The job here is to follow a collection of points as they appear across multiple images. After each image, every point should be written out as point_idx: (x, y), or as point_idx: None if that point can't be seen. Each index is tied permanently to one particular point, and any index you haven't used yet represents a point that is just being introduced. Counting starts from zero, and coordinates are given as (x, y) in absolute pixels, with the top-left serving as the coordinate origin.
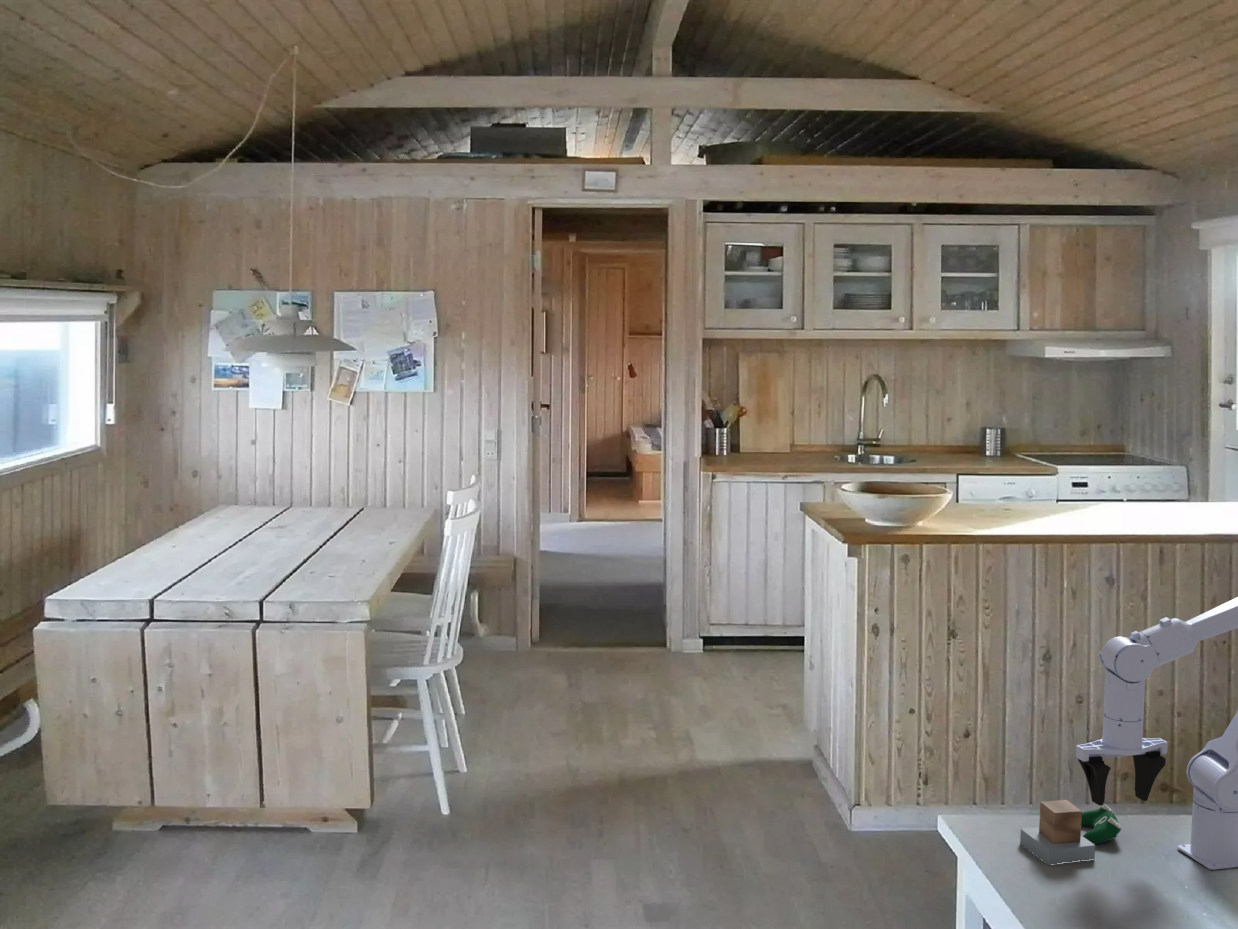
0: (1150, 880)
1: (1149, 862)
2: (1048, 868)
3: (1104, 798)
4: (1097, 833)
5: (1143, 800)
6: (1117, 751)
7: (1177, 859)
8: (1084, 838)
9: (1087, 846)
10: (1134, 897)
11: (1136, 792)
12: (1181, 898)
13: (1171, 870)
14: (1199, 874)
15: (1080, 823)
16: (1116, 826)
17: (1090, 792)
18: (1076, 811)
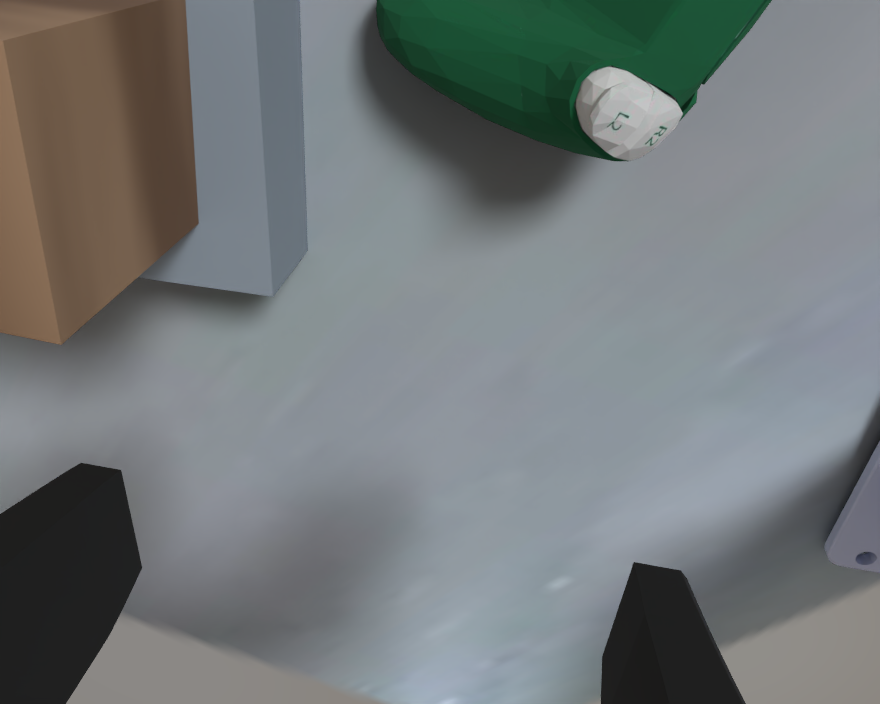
0: (447, 499)
1: (603, 374)
2: None
3: (99, 647)
4: (451, 92)
5: (602, 660)
6: None
7: (796, 404)
8: (257, 187)
9: (217, 287)
10: (275, 559)
11: (636, 612)
12: (456, 625)
13: (636, 473)
14: (731, 543)
15: (120, 284)
16: (611, 150)
17: (4, 511)
18: (10, 329)
